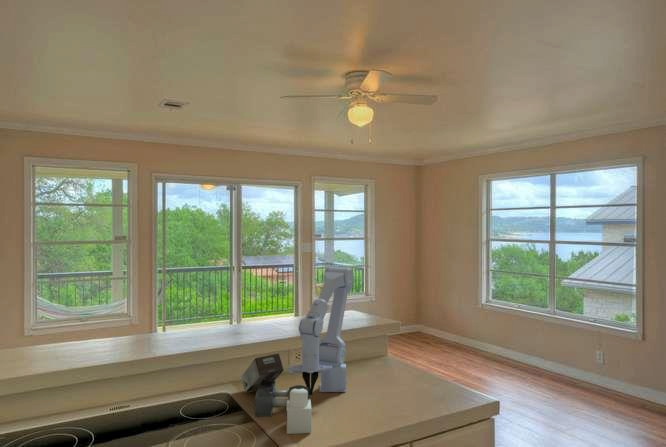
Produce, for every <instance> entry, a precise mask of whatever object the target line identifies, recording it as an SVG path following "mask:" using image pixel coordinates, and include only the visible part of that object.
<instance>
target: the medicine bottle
mask: <svg viewBox="0 0 666 447" xmlns="http://www.w3.org/2000/svg"><path fill="white" fill-rule="evenodd" d="M289 388H290V387H289ZM288 391H289V400H287V406H286V411H285V412H286V414H285V416H286V418H285V419H286V422H285V423H286V428H285V429H286V432H285V433H286V435H293V434H295V435H296V434H300V435H301V434H311V433H312V402H311V398H310V395H309V389H308V387H307V386H306V385H299V384H298V385H297V384H296V385H292V386H291V388H290V389H288Z"/></svg>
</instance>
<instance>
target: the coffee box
mask: <svg viewBox="0 0 666 447" xmlns="http://www.w3.org/2000/svg"><path fill="white" fill-rule="evenodd" d="M284 371H285V370H284V366H283V363H282V359H281V357H280V353H275V354H268V355H265V356H259V357H255V358H254V360H253V361H252V362H251V363H250V364H249V366H248V367H247V369H246V370H245V371H244V372H243V373H242V374H241V376H240V378H241V381H242V382H241V384H242V387H243V391H244V393H245V394H246V393H250V392H255V391H256V392H257V390H258V388H259V385H260V382H261V381H276V379H278V378H279V376H280V375H281V374H282V373H283V372H284Z"/></svg>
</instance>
